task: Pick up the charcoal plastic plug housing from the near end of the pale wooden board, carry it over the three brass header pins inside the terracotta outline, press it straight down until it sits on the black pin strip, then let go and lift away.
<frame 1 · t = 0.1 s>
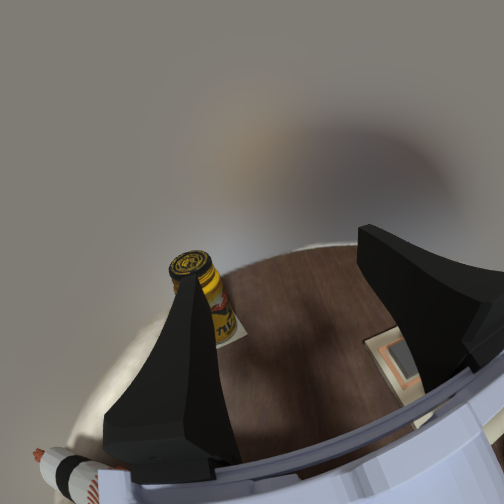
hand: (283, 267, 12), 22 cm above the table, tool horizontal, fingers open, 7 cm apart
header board: (444, 385, 23), on the table
condiment: (211, 332, 39), on the table
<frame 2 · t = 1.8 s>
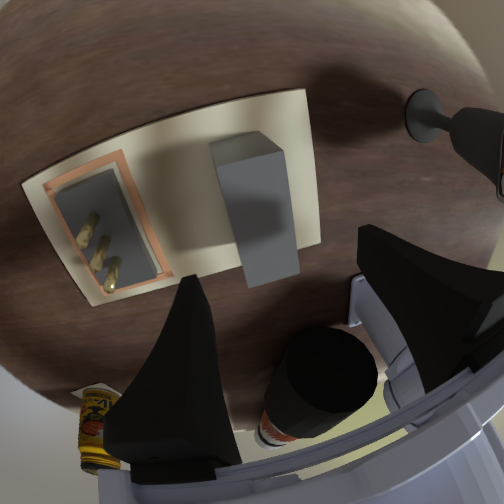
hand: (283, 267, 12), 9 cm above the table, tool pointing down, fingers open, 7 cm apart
striped banded cylinder: (280, 393, 40), on the table
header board: (173, 204, 19), on the table
plug housing: (245, 190, 19), point 1 cm above the table, touching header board
condiment: (106, 398, 33), on the table
sundae: (423, 116, 19), on the table
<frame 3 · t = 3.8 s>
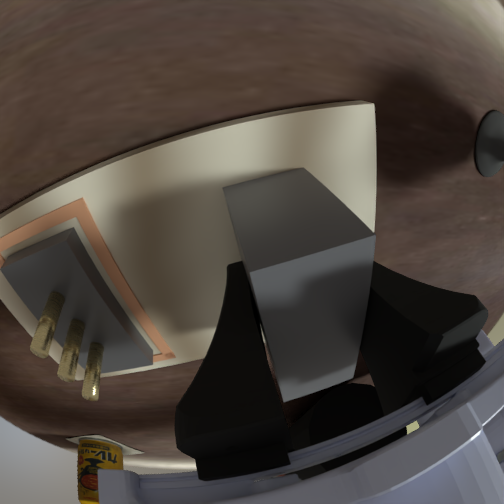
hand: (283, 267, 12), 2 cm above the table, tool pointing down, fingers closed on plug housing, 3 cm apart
striped banded cylinder: (293, 435, 34), on the table
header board: (170, 272, 13), on the table
plug housing: (277, 255, 13), point 1 cm above the table, touching gripper, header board
condiment: (104, 444, 27), on the table
sundae: (490, 143, 13), on the table
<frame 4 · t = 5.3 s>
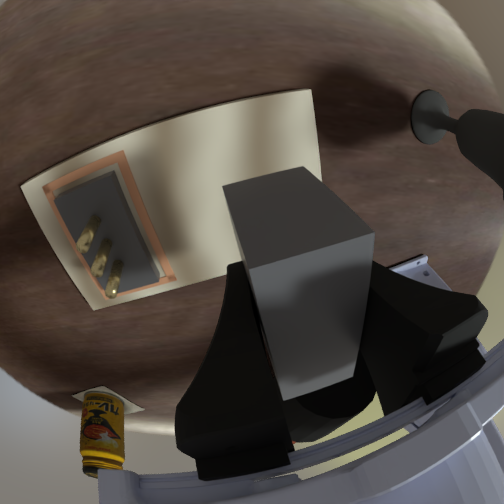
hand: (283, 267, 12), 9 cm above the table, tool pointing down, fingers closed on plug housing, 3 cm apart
striped banded cylinder: (281, 396, 39), on the table
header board: (176, 207, 19), on the table
plug housing: (277, 254, 13), point 8 cm above the table, touching gripper
condiment: (107, 401, 32), on the table
sundae: (429, 117, 18), on the table
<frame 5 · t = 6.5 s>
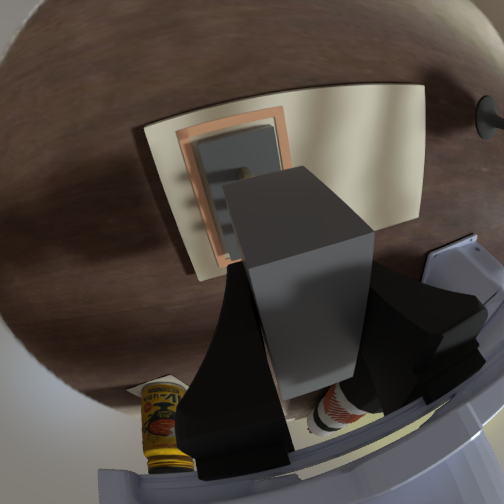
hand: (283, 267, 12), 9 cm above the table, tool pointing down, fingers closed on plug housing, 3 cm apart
striped banded cylinder: (340, 375, 40), on the table
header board: (312, 171, 19), on the table
plug housing: (277, 253, 13), point 8 cm above the table, touching gripper
condiment: (167, 393, 33), on the table
sundae: (485, 117, 19), on the table
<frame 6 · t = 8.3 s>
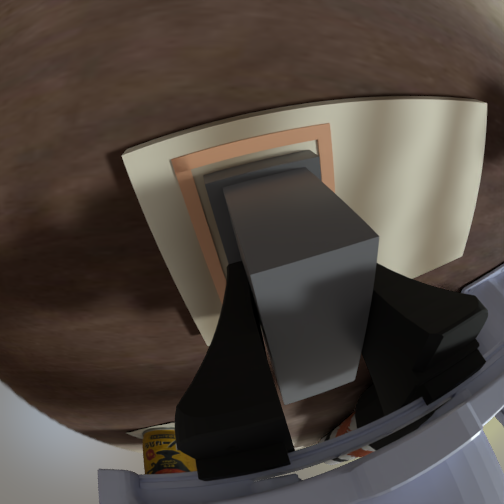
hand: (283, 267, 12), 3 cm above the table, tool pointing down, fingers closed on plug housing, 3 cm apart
striped banded cylinder: (354, 407, 35), on the table
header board: (356, 210, 14), on the table
plug housing: (278, 256, 13), point 2 cm above the table, touching gripper, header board
condiment: (170, 434, 28), on the table
when the fingers open (3 cm above the table, at t = 8.9 s): plug housing stays where it is, resting on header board.
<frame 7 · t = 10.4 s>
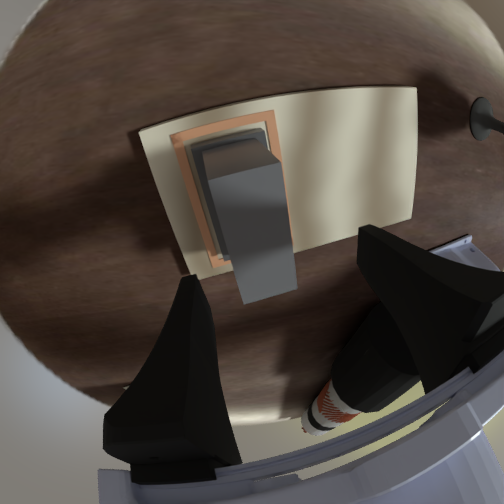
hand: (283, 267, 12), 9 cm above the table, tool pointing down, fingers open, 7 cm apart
striped banded cylinder: (334, 374, 40), on the table
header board: (304, 173, 20), on the table
plug housing: (241, 200, 18), point 2 cm above the table, touching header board
sundae: (480, 118, 20), on the table
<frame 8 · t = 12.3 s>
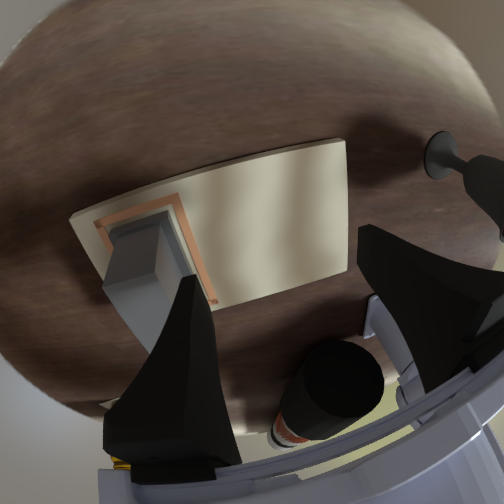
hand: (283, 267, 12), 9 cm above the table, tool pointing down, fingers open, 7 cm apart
striped banded cylinder: (293, 398, 42), on the table
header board: (222, 240, 22), on the table
plug housing: (158, 274, 20), point 2 cm above the table, touching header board
sundae: (440, 155, 21), on the table
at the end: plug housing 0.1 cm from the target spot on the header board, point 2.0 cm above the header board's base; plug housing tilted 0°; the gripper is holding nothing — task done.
